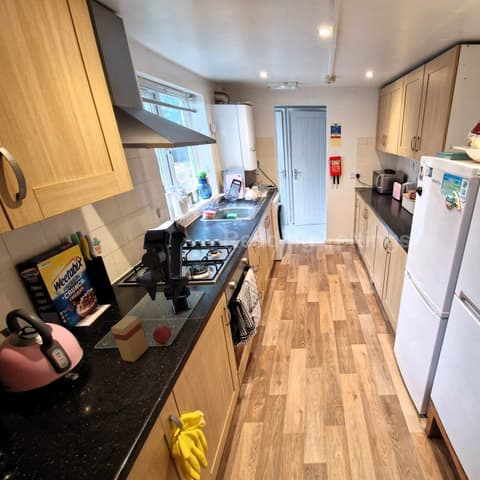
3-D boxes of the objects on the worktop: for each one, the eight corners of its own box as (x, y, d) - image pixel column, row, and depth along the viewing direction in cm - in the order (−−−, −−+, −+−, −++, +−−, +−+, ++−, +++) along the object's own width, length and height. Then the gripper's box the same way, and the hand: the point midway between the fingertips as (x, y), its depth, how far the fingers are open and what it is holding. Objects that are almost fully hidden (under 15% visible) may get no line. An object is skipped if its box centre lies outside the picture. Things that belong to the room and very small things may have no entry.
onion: (165, 349, 95) (160, 331, 92) (151, 346, 96) (146, 329, 93) (176, 338, 101) (172, 321, 98) (163, 335, 102) (158, 319, 99)
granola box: (122, 360, 91) (110, 327, 85) (138, 346, 97) (127, 315, 91) (134, 362, 90) (122, 329, 85) (148, 347, 96) (138, 316, 91)
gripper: (120, 265, 93) (124, 307, 95) (166, 268, 90) (169, 311, 92) (146, 259, 104) (149, 296, 106) (188, 261, 101) (190, 300, 103)
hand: (164, 301), depth 101 cm, fingers open, 9 cm apart
